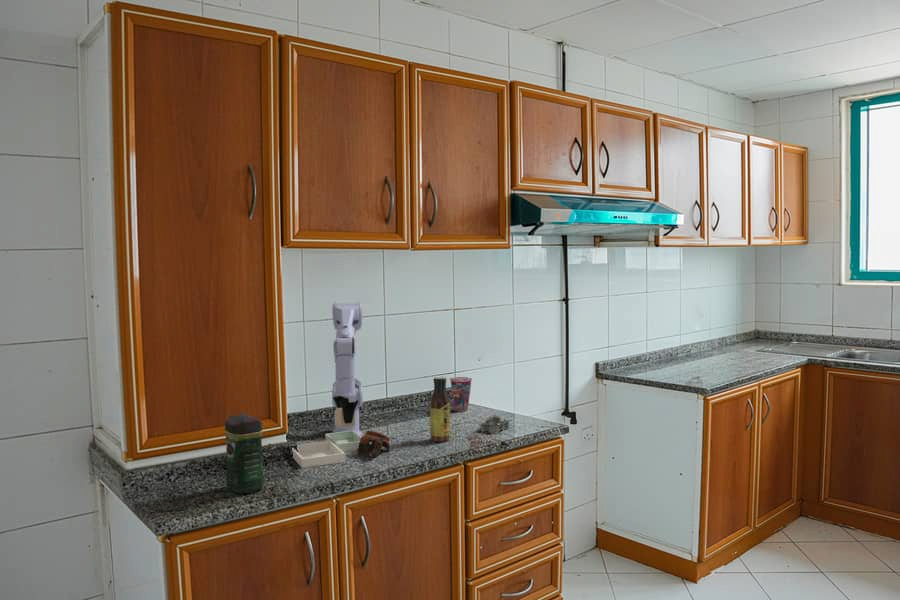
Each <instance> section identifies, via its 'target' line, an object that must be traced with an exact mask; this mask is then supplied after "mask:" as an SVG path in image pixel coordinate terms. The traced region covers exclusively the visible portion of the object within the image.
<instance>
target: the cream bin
mask: <svg viewBox="0 0 900 600" xmlns="http://www.w3.org/2000/svg"><path fill="white" fill-rule="evenodd" d="M296 445H297V450H298V452H297V451H296V450H295V449H294V448H292V452H293V457H292V458H293V459H294V461H295V462H296V463H297V464H298V465H299V467H301V469H307V468H311V467H319V466H325V465H326V466H327V465H332V464H333V465H335V464H341V463H346V452H343V451H342V450H341V449H339V448H338V447H337V446H336V445H335V444H334V443H333V442H331V441H330V440H329V441H325V440H324V441H323V440H322V441H315V442H308V443H307V442H306V443H298V444H296Z"/></svg>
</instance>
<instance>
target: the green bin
mask: <svg viewBox="0 0 900 600" xmlns="http://www.w3.org/2000/svg"><path fill="white" fill-rule="evenodd" d="M324 436H325V438H324V439H325V440H324V441H329V440H330V441H331V442H333V443H334V444H335V445H336V446H337V447H338V448H339V449H341V450H342V451H343V452H344V453H347V452H352V451H357V449H358V447H359V442H360V439H361V437H362V436H363V435H362V434H360V435H359V434H358V433H357V432H355V431H354V430H353V431H344V432H336V433H334V432H329V433H325V435H324Z"/></svg>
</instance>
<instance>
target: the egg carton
mask: <svg viewBox="0 0 900 600" xmlns="http://www.w3.org/2000/svg"><path fill="white" fill-rule="evenodd" d="M511 421H512V420H511V419H507V420H506V418H504V419H503V420H501V417H500V416H498V415H496V414H492V415H490V416H489V418H488V419H486V420H484V421H482V422H480V423H478V426H479V427H480V432H481V431H482V433H485V431H489V432H488V433H489V434H495V433H494V432H500V431H499V430H504V431H505V429H504V428H509V429H510V422H511Z"/></svg>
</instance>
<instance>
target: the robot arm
mask: <svg viewBox="0 0 900 600" xmlns="http://www.w3.org/2000/svg"><path fill="white" fill-rule="evenodd" d="M331 313H332V323H333V328H334V330H336V332H335V339H333V356H334V363H335V381H333V384H332V390H331V391H332V392H331V399H332V400H331V403H332V406H333V407H335V410H334V429H332V433H336V432H344V431H353V430H354V431H355V432H357V433H358V434H359V435H364V432H361V430H360V407H361V406H362V405H363V403H364V400H363V399H364V398H363V397H364V394H363V393H364V392H363V383H362V381H361V380H359V379H358V378H356V377H355V373H356V372H355V371H356V370H355V356H356V353H357V352H356V349H357V346H356V345H357V343H356V337H355V336H356V332H357V331H359V330H360V329H361V328H362V325H363V323H362V322H363V303H362V302H333V304H332V312H331ZM336 408H342V411H343V418H344V422H345V423H352V420H353V415H354V411H355V426H348V427H340V426H338V425H337V416H336Z"/></svg>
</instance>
